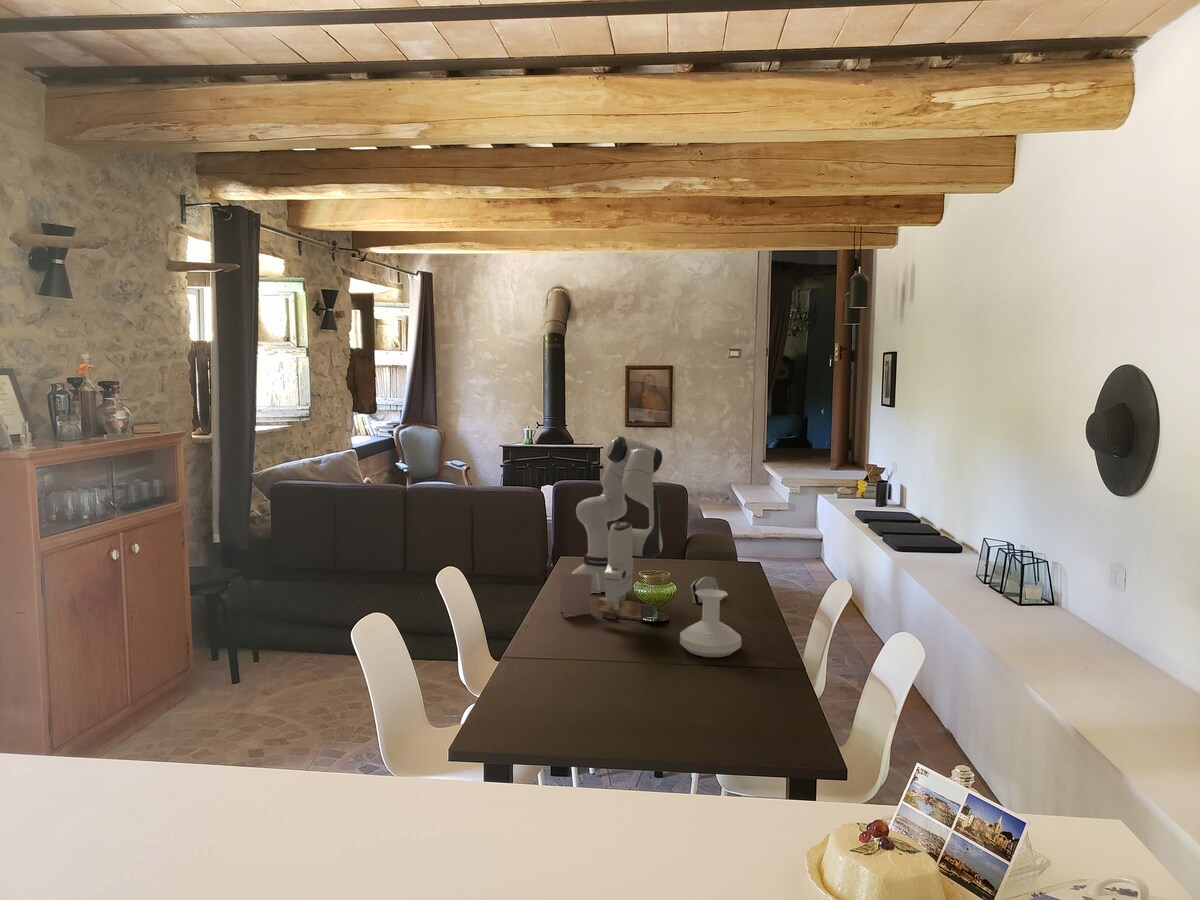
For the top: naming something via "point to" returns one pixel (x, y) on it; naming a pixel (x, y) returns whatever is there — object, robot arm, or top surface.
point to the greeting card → (575, 593)
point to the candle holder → (710, 629)
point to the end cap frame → (645, 612)
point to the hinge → (702, 587)
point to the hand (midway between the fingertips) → (619, 607)
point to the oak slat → (625, 607)
